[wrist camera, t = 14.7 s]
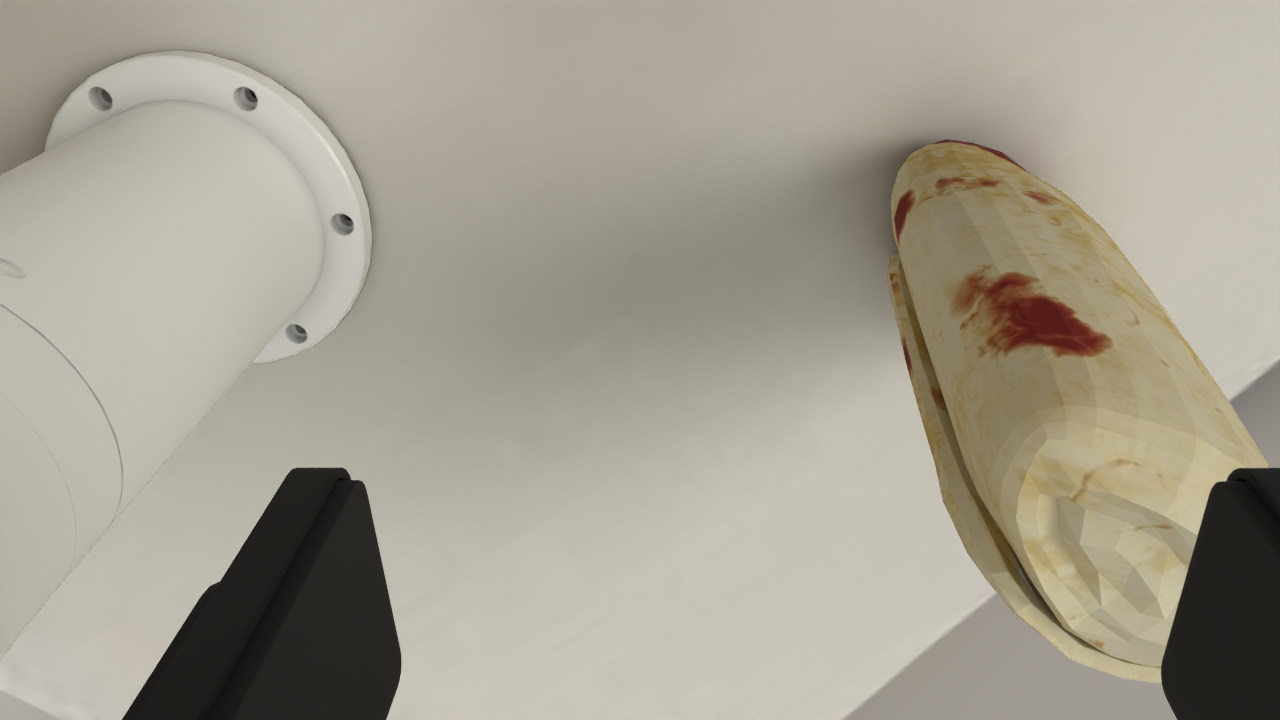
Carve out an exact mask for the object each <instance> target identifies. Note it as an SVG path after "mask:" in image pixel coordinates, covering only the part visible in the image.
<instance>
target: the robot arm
mask: <svg viewBox="0 0 1280 720" xmlns="http://www.w3.org/2000/svg"><path fill="white" fill-rule="evenodd" d="M250 90H252V91H253V92H254V93H255V95H256V97H257V99H255V98H254V97H253V96H252V95H251V93H250ZM345 215H347V216H348V217H349V218H350V219H351V220H352V221H348V220H347V219H346V218H345ZM371 246H372V231H371V223H370V214H369V208H368V204H367V201H366V198H365V195H364V192H363V188H362V185H361V182H360V179H359V177H358V175H357V173H356V171H355V169H354V167H353V165H352V163H351V162H350V160H349V158H348V156H347V154H346V152H345V150H344V149H343V147H342V146H341V145H340V143H339V142H338V141H337V139H336V138H335V137H334V135H333V134H332V133H331V131H330V130H329V128H328V127H327V126H326V124H325V123H324V122H323V121H322V120H321V119H320V118H319V117H318V116H317V115H316V114H315V113H314V112H313V111H312V110H311V109H310V108H309V107H308V106H307V105H305V104H304V103H303V102H302V101H301V100H300V99H299V98H298V97H297V96H295V95H294V94H292V93H291V92H289V91H288V90H287V89H285V88H284V87H282V86H281V85H280V84H278V83H277V82H275V81H274V80H272V79H271V78H269V77H267V76H265V75H263V74H261V73H259V72H257V71H255V70H253V69H251V68H249V67H247V66H245V65H243V64H241V63H238V62H235V61H231V60H228V59H224V58H221V57H217V56H214V55H210V54H207V53H198V52H188V51H177V50H171V51H162V52H153V53H144V54H141V55H138V56H135V57H132V58H129V59H126V60H123V61H121V62H118V63H115V64H113V65H111V66H109V67H107V68H105V69H103V70H101V71H99V72H97V73H95V74H93V75H91V76H90V77H89V78H88V79H87V80H86V81H84V82H83V83H82V84H81V85H80V86H79V87H77V88H76V89H75V90H74V91H73V92H72V93H70V95H69V96H68V98H67V99H66V101H65V102H64V104H63V105H62V107H61V108H60V110H59V111H58V112H57V114H56V115H55V118H54V120H53V123H52V126H51V129H50V131H49V134H48V137H47V140H46V144H45V152H44V153H42V154H40V155H38V156H36V157H35V158H33V159H31V160H29V161H27V162H25V163H23V164H21V165H19V166H17V167H15V168H13V169H11V170H9V171H7V172H5V173H4V174H2V175H0V661H1V659H2V658H3V657H4V655H5V654H6V653H7V651H8V650H9V649H10V647H11V646H12V645H13V643H14V642H15V641H16V639H17V638H18V637H19V635H20V634H21V633H22V631H23V630H24V629H25V628H26V626H27V625H28V624H29V623H30V622H31V620H32V619H33V618H34V617H35V615H36V614H37V613H38V612H39V611H40V609H41V608H42V607H43V606H44V604H45V603H46V602H47V601H48V600H49V598H50V597H51V596H52V595H53V593H54V592H55V591H56V590H57V589H58V588H59V586H60V585H61V584H62V583H63V582H64V580H65V579H66V578H67V577H68V576H69V575H70V573H71V572H72V571H73V570H74V569H75V567H76V566H77V565H78V564H79V563H80V562H81V560H82V559H83V558H84V557H85V556H86V555H87V553H88V552H89V551H90V550H91V549H92V548H93V546H94V545H95V544H96V543H97V542H98V541H99V539H100V538H101V537H102V536H103V535H104V533H105V532H106V531H107V530H108V529H109V527H110V526H111V525H112V524H113V523H114V522H115V520H116V519H117V518H118V517H119V516H120V515H121V514H122V512H123V511H124V510H125V509H126V508H127V507H128V505H129V504H130V503H131V502H132V501H133V500H134V498H135V497H136V496H137V495H138V494H139V493H140V492H141V490H142V489H143V488H144V487H145V486H146V485H147V483H148V482H149V481H150V480H151V479H152V478H153V477H154V475H155V474H156V473H157V472H158V471H159V470H160V468H161V467H162V466H163V465H164V464H165V463H166V461H167V460H168V459H169V458H170V457H171V456H172V455H173V453H174V452H175V451H176V450H177V449H178V448H179V446H180V445H181V444H182V443H183V442H184V441H185V439H186V438H187V437H188V436H189V435H190V434H191V433H192V431H193V430H194V429H195V428H196V427H197V426H198V424H199V423H200V422H201V421H202V420H203V419H204V417H205V416H206V415H207V414H208V413H209V412H210V411H211V409H212V408H213V407H214V406H215V405H216V404H217V402H218V401H219V400H220V399H221V398H222V397H223V396H224V394H225V393H226V392H227V391H228V390H229V389H230V387H231V386H232V385H233V384H234V383H235V382H236V380H237V379H238V378H239V377H240V376H241V375H242V374H243V372H244V371H245V370H246V369H247V368H248V367H249V365H250V364H251V363H267V362H271V361H275V360H279V359H283V358H287V357H291V356H294V355H296V354H298V353H300V352H302V351H304V350H306V349H308V348H310V347H312V346H314V345H316V344H317V343H318V342H319V341H321V340H322V339H323V338H324V337H326V336H327V335H328V334H329V333H330V332H332V331H333V330H334V329H335V328H336V327H337V326H338V324H339V323H340V322H341V321H342V319H343V318H344V317H345V316H346V314H347V313H348V312H349V311H350V309H351V307H352V306H353V304H354V302H355V301H356V299H357V297H358V296H359V294H360V292H361V291H362V288H363V285H364V282H365V279H366V276H367V272H368V269H369V266H370V258H371ZM400 674H401V651H400V646H399V641H398V637H397V632H396V627H395V623H394V618H393V613H392V608H391V604H390V599H389V594H388V589H387V585H386V580H385V575H384V571H383V566H382V561H381V556H380V552H379V547H378V542H377V537H376V533H375V528H374V523H373V519H372V514H371V509H370V504H369V500H368V495H367V491H366V487H365V485H364V483H363V482H362V481H360V480H351V478H350V475H349V473H348V472H347V470H345V469H343V468H295V469H292V470H291V471H290V472H289V473H288V475H287V476H286V478H285V479H284V481H283V483H282V484H281V486H280V487H279V489H278V491H277V492H276V494H275V495H274V497H273V498H272V500H271V502H270V503H269V505H268V506H267V508H266V510H265V511H264V513H263V514H262V516H261V518H260V519H259V521H258V522H257V524H256V526H255V527H254V529H253V530H252V532H251V533H250V535H249V537H248V538H247V540H246V541H245V543H244V545H243V546H242V548H241V549H240V551H239V553H238V554H237V556H236V557H235V559H234V560H233V562H232V564H231V565H230V567H229V568H228V570H227V572H226V573H225V575H224V576H223V578H222V580H221V581H220V582H218V583H216V584H214V585H212V586H210V587H209V588H208V589H207V590H206V591H205V593H204V594H203V595H202V596H201V597H200V599H199V600H198V602H197V604H196V605H195V607H194V608H193V610H192V611H191V613H190V614H189V616H188V618H187V619H186V621H185V622H184V624H183V625H182V627H181V629H180V630H179V632H178V633H177V635H176V636H175V638H174V639H173V641H172V643H171V644H170V646H169V647H168V649H167V650H166V652H165V653H164V655H163V657H162V658H161V660H160V661H159V663H158V664H157V666H156V668H155V669H154V671H153V672H152V674H151V675H150V677H149V678H148V680H147V682H146V683H145V685H144V686H143V688H142V689H141V691H140V692H139V694H138V696H137V697H136V699H135V700H134V702H133V703H132V705H131V706H130V708H129V710H128V711H127V713H126V714H125V716H124V717H123V719H122V720H386V718H387V715H388V713H389V710H390V707H391V704H392V701H393V698H394V696H395V693H396V690H397V687H398V684H399V680H400ZM1161 680H1162V686H1163V690H1164V693H1165V696H1166V698H1167V700H1168V702H1169V704H1170V706H1171V708H1172V710H1173V712H1174V714H1175V716H1176V718H1177V720H1280V468H1238V469H1235V470H1233V471H1232V472H1231V474H1230V475H1229V476H1228V478H1227V480H1226V481H1220V482H1217V483H1215V484H1214V486H1213V487H1212V489H1211V491H1210V494H1209V497H1208V501H1207V504H1206V508H1205V511H1204V515H1203V518H1202V522H1201V525H1200V529H1199V532H1198V536H1197V539H1196V543H1195V546H1194V550H1193V554H1192V557H1191V561H1190V564H1189V568H1188V571H1187V575H1186V578H1185V582H1184V585H1183V589H1182V592H1181V596H1180V599H1179V603H1178V606H1177V610H1176V614H1175V617H1174V621H1173V624H1172V628H1171V631H1170V635H1169V638H1168V642H1167V645H1166V649H1165V652H1164V656H1163V659H1162V665H1161Z"/></svg>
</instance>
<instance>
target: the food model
mask: <svg viewBox="0 0 1280 720" xmlns="http://www.w3.org/2000/svg"><path fill="white" fill-rule="evenodd" d="M891 213H892V227H893V234H894V238H895V241H896V245H897V248H898V252H899V254H891V255H889V268H888V283H889V289H890V295H891V299H892V303H893V307H894V311H895V316H896V320H897V324H898V328H899V332H900V336H901V341H902V345H903V350H904V355H905V360H906V363H907V367H908V371H909V375H910V379H911V383H912V386H913V390H914V393H915V397H916V401H917V404H918V408H919V411H920V415H921V418H922V421H923V425H924V428H925V432H926V435H927V439H928V442H929V445H930V449H931V452H932V455H933V459H934V462H935V466H936V470H937V475H938V480H939V484H940V489H941V493H942V498H943V502H944V504H945V507H946V509H947V511H948V513H949V515H950V517H951V519H952V521H953V523H954V526H955V528H956V530H957V532H958V534H959V536H960V538H961V540H962V542H963V545H964V547H965V549H966V551H967V553H968V555H969V556H970V557H971V559H972V560H973V562H974V563H975V564H976V566H977V567H978V569H979V570H980V571H981V573H982V574H983V575H984V577H985V578H986V580H987V581H988V582H989V583H990V585H991V586H992V587H993V588H994V590H995V591H996V592H997V593H998V594H999V596H1000V597H1001V598H1002V599H1003V601H1004V602H1005V603H1006V604H1007V606H1008V607H1009V608H1010V609H1011V611H1012V612H1014V613H1015V614H1016V615H1017V616H1018V617H1020V618H1021V619H1022V620H1023V621H1025V622H1026V623H1027V624H1028V625H1029V626H1031V627H1032V628H1033V629H1034V630H1036V631H1037V632H1038V633H1039V634H1040V635H1042V636H1043V637H1044V638H1045V639H1047V640H1048V641H1049V642H1050V643H1051V644H1053V645H1054V646H1055V647H1056V648H1058V649H1059V650H1060V651H1061V652H1062V653H1064V654H1065V655H1066V656H1067V657H1069V658H1070V659H1071V660H1073V661H1076V662H1079V663H1082V664H1084V665H1087V666H1090V667H1092V668H1095V669H1098V670H1101V671H1103V672H1106V673H1109V674H1112V675H1115V676H1117V677H1120V678H1126V679H1133V680H1139V681H1146V682H1154V683H1160V684H1162V680H1161V665H1162V659H1163V656H1164V652H1165V649H1166V645H1167V642H1168V638H1169V635H1170V631H1171V628H1172V624H1173V621H1174V617H1175V614H1176V610H1177V606H1178V603H1179V599H1180V596H1181V592H1182V589H1183V585H1184V582H1185V578H1186V575H1187V571H1188V568H1189V564H1190V561H1191V557H1192V554H1193V550H1194V546H1195V543H1196V539H1197V536H1198V532H1199V529H1200V525H1201V522H1202V518H1203V515H1204V511H1205V508H1206V504H1207V501H1208V497H1209V494H1210V491H1211V489H1212V487H1213V486H1214V484H1215V483H1217V482H1220V481H1226V480H1227V478H1228V476H1229V475H1230V474H1231V472H1232V471H1233V470H1235V469H1238V468H1270V467H1269V465H1268V464H1267V462H1266V461H1265V459H1264V457H1263V456H1262V454H1261V452H1260V451H1259V449H1258V448H1257V446H1256V445H1255V443H1254V441H1253V440H1252V438H1251V436H1250V435H1249V433H1248V432H1247V430H1246V428H1245V427H1244V425H1243V424H1242V422H1241V421H1240V419H1239V417H1238V416H1237V414H1236V412H1235V411H1234V409H1233V408H1232V406H1231V405H1230V403H1229V401H1228V400H1227V398H1226V396H1225V395H1224V394H1223V392H1222V391H1221V389H1220V388H1219V386H1218V385H1217V383H1216V382H1215V380H1214V379H1213V377H1212V376H1211V374H1210V373H1209V371H1208V370H1207V369H1206V367H1205V366H1204V364H1203V363H1202V361H1201V360H1200V359H1199V358H1198V356H1197V355H1196V354H1195V352H1194V351H1193V350H1192V348H1191V347H1190V346H1189V344H1188V343H1187V342H1186V340H1185V339H1184V338H1183V336H1182V335H1181V333H1180V332H1179V330H1178V329H1177V327H1176V326H1175V324H1174V323H1173V321H1172V320H1171V318H1170V317H1169V315H1168V314H1167V312H1166V311H1165V309H1164V308H1163V307H1162V305H1161V304H1160V303H1159V301H1158V300H1157V298H1156V297H1155V296H1154V294H1153V293H1152V292H1151V290H1150V289H1149V287H1148V286H1147V285H1146V283H1145V282H1144V281H1143V279H1142V278H1141V277H1140V275H1139V274H1138V273H1137V271H1136V270H1135V269H1134V267H1133V266H1132V265H1131V263H1130V262H1129V261H1128V260H1127V258H1126V257H1125V256H1124V254H1123V253H1122V252H1121V250H1120V249H1119V248H1118V246H1117V245H1116V244H1115V243H1114V241H1113V240H1112V239H1111V238H1110V236H1109V235H1108V234H1107V233H1106V231H1105V230H1104V229H1103V228H1102V227H1101V226H1100V225H1099V224H1098V223H1097V222H1096V221H1094V220H1093V219H1092V218H1091V217H1090V216H1089V215H1088V214H1087V213H1086V212H1085V211H1084V210H1082V209H1081V208H1080V207H1079V206H1078V205H1077V204H1076V203H1075V202H1073V201H1072V200H1071V199H1070V198H1069V197H1067V196H1066V195H1065V194H1064V193H1062V192H1061V191H1060V190H1058V189H1056V188H1054V187H1053V186H1051V185H1049V184H1047V183H1046V182H1044V181H1042V180H1040V179H1039V178H1037V177H1035V176H1033V175H1031V174H1030V173H1029V172H1027V171H1026V170H1025V169H1023V168H1022V167H1021V166H1019V165H1018V164H1017V163H1015V162H1014V161H1013V160H1011V159H1010V158H1009V157H1007V156H1006V155H1005V154H1003V153H1002V152H999V151H996V150H993V149H990V148H987V147H983V146H980V145H977V144H974V143H968V142H961V141H954V140H944V141H940V142H936V143H933V144H929V145H927V146H925V147H923V148H921V149H919V150H917V151H916V152H914V153H912V154H910V156H909V157H908V158H907V160H906V161H905V162H904V164H903V165H902V166H901V168H900V169H899V171H898V173H897V177H896V180H895V184H894V188H893V192H892V196H891Z"/></svg>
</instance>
